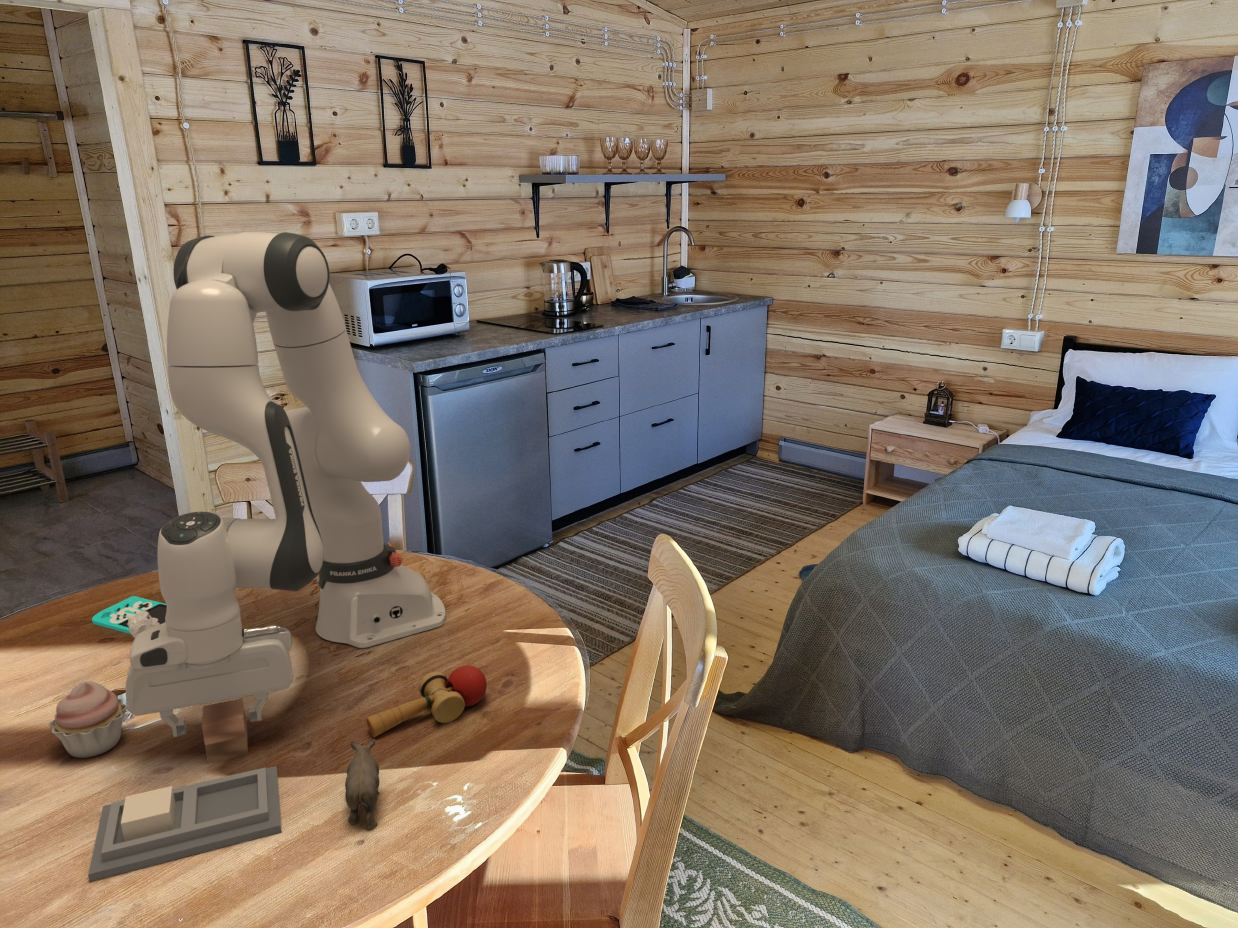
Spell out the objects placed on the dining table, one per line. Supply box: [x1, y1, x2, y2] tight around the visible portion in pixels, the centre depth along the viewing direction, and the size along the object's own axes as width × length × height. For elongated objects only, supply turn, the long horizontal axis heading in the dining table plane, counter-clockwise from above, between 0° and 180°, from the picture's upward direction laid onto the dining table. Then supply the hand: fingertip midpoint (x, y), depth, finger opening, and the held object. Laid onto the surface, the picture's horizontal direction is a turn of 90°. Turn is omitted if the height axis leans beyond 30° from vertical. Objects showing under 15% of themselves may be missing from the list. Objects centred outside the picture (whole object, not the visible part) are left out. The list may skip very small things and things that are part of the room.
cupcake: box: [47, 680, 128, 759], centre depth 116 cm, size 9×9×10 cm
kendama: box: [365, 664, 488, 738], centre depth 125 cm, size 8×6×18 cm
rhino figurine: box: [344, 738, 381, 831], centre depth 108 cm, size 4×14×6 cm, turn 15°
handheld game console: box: [91, 595, 167, 635], centre depth 153 cm, size 10×16×1 cm, turn 68°
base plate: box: [88, 765, 283, 882], centre depth 103 cm, size 20×12×4 cm, turn 113°
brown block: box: [201, 697, 249, 765], centre depth 117 cm, size 5×5×6 cm
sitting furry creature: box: [126, 611, 160, 675], centre depth 132 cm, size 10×9×12 cm
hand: (218, 726), depth 116 cm, fingers open, 8 cm apart
